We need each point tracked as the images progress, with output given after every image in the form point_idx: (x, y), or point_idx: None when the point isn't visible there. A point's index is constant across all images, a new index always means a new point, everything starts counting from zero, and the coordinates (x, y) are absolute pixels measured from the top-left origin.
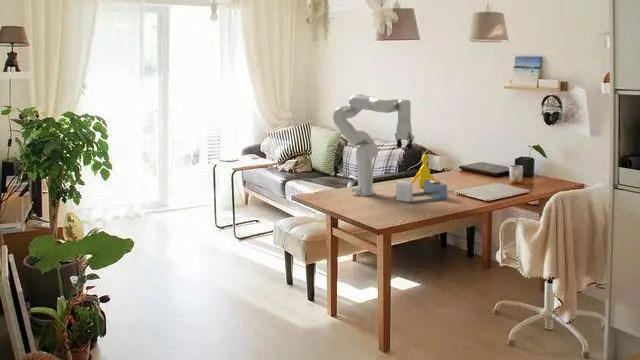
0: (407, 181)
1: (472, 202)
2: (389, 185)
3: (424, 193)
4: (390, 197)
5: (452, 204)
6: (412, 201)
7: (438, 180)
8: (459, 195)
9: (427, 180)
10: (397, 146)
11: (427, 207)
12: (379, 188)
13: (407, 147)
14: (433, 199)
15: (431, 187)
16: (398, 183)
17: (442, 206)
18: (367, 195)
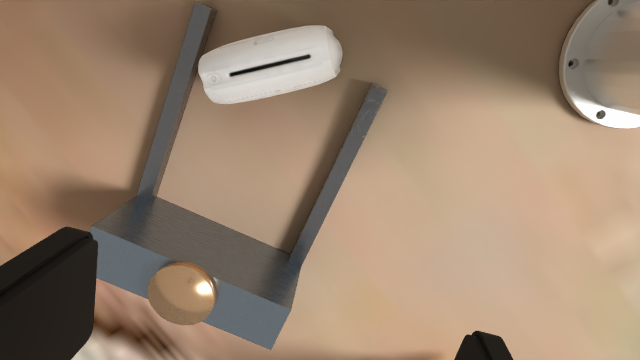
0: (233, 77)
1: (9, 249)
2: (604, 329)
3: (290, 255)
4: (414, 79)
5: (39, 158)
6: (189, 23)
7: (177, 321)
8: (150, 331)
9: (268, 317)
10: (492, 355)
11: (75, 10)
12: (621, 237)
13: (32, 253)
14: (148, 158)
15: (206, 253)
16: (300, 29)
17: (39, 88)
18: (583, 11)
